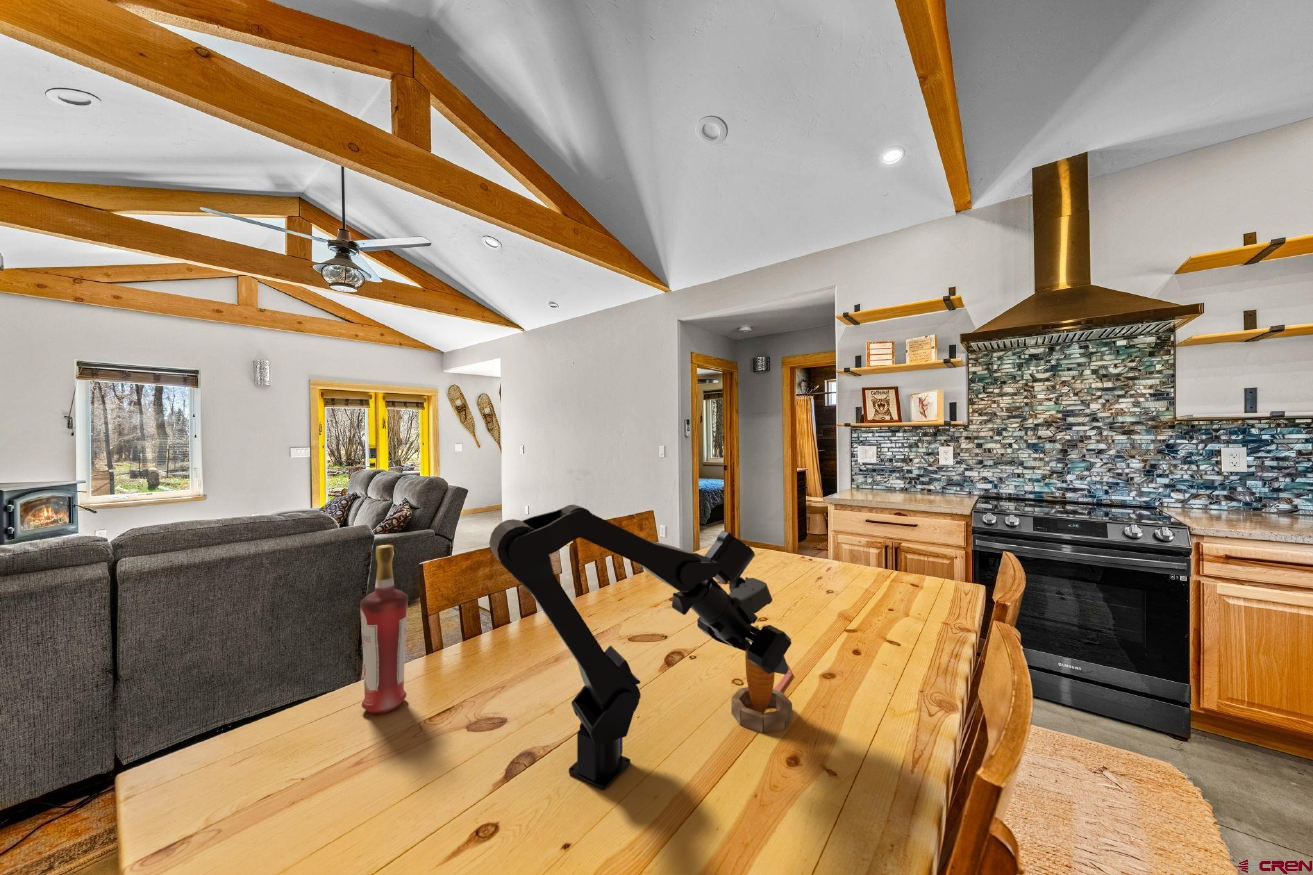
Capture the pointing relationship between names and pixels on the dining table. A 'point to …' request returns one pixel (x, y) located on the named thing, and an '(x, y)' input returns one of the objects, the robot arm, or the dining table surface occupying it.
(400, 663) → the liquor
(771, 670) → the robot arm
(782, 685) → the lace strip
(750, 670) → the carrot
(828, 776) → the dining table surface
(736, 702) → the bead ring
